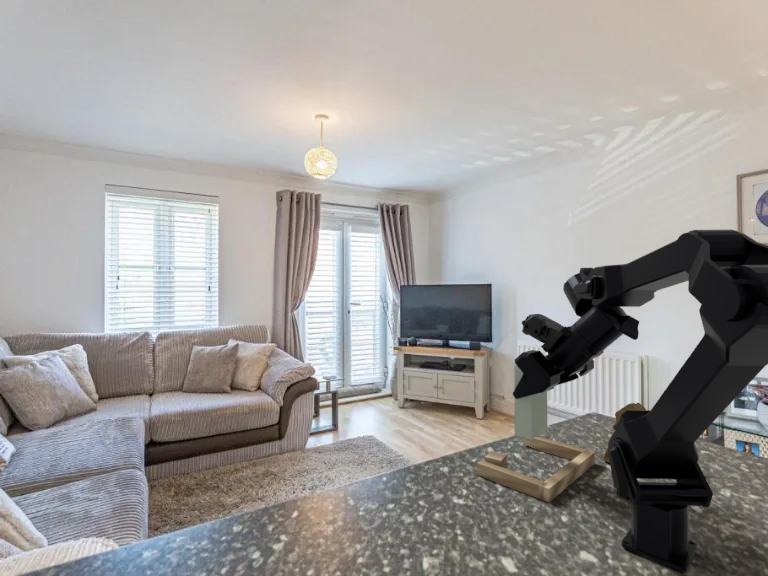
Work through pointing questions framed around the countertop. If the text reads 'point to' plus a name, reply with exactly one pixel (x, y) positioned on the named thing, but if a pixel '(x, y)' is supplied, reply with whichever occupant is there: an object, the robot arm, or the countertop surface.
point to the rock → (617, 418)
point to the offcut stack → (497, 459)
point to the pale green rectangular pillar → (529, 412)
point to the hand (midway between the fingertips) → (523, 392)
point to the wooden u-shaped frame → (553, 484)
